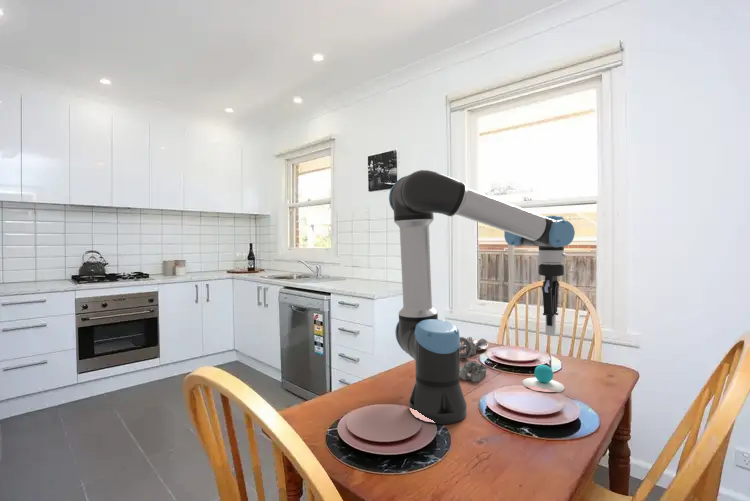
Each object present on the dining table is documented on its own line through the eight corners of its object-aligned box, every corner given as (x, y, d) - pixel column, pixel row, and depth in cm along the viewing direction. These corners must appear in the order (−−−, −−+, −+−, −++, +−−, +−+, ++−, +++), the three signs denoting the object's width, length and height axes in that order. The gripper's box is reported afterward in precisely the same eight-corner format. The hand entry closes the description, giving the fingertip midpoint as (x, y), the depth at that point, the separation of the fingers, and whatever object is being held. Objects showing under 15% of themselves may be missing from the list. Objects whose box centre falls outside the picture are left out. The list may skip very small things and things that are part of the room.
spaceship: (423, 343, 139) (439, 338, 134) (476, 335, 163) (492, 331, 158) (428, 365, 137) (445, 362, 131) (481, 354, 161) (497, 351, 155)
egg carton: (478, 384, 122) (478, 371, 122) (456, 379, 126) (456, 367, 126) (489, 374, 130) (489, 362, 130) (469, 369, 135) (469, 358, 134)
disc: (559, 396, 111) (559, 395, 111) (517, 386, 119) (517, 386, 119) (568, 383, 121) (568, 383, 121) (528, 375, 128) (528, 374, 128)
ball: (557, 377, 122) (552, 387, 119) (540, 375, 126) (534, 385, 122) (553, 362, 122) (547, 372, 118) (535, 360, 125) (529, 370, 122)
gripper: (559, 265, 118) (558, 341, 119) (567, 262, 128) (567, 332, 129) (533, 264, 122) (532, 337, 123) (544, 261, 133) (543, 329, 134)
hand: (550, 334), depth 126 cm, fingers closed
